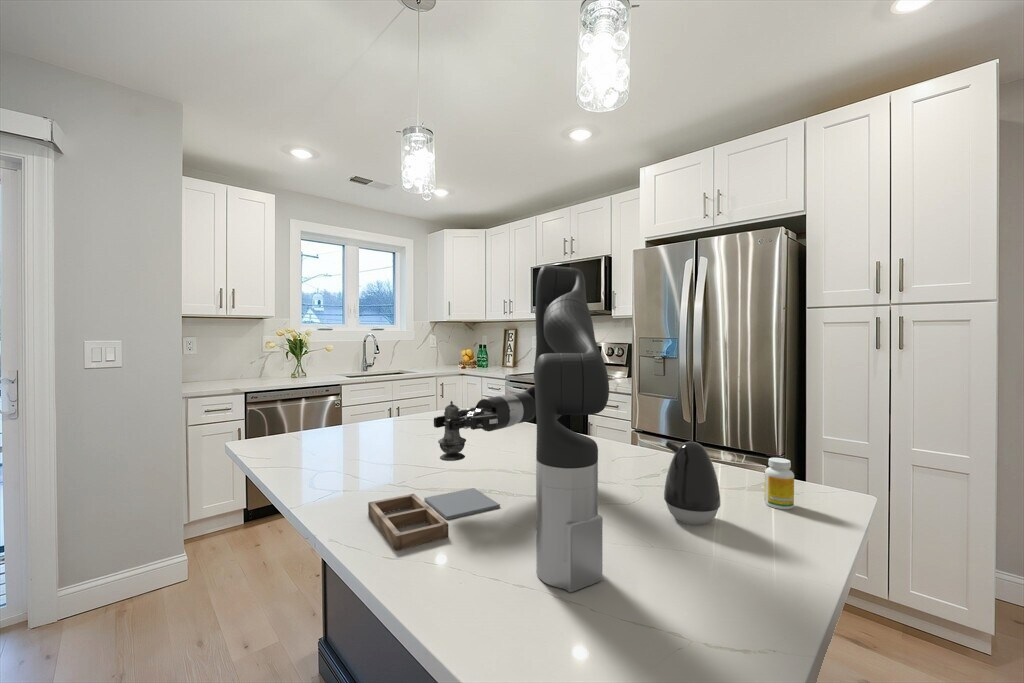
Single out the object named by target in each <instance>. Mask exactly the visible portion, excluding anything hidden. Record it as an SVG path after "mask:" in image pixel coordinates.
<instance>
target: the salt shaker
mask: <svg viewBox="0 0 1024 683" xmlns="http://www.w3.org/2000/svg"><path fill="white" fill-rule="evenodd" d="M458 408H459V406H457V405H456V404H454V402H453V401H452V400H451V401H450V404H449V405H447V406H445V407H444V412H445V422H443V424H445V426H444V436H443V437H442V438H440V439H438V441H437V443H438V444H439V447H440V451H442V452H443V454H441V455H440V456H439V459H440V460H442V461H446V462H456V461H461V460H464V459H465V458H466V455H465V454H463V453H462V451H463V450H464V448H465V444H466V442H467V439H466V438H465V437H462V436H461V433H460V429H456V430H451V431H449V430H447V420H448V419H453V418H458V417H459V409H458Z"/></svg>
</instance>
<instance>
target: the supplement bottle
mask: <svg viewBox="0 0 1024 683" xmlns="http://www.w3.org/2000/svg"><path fill="white" fill-rule="evenodd" d="M791 465H792V464H791V460H790V459H786V458H783V457H770V458H769V457H768V466H769V467H767V468H765V469H764V490H763V492H764V493H763V494H764V495H763V496H764V499H763V501H764V503H765V505H766V506H768V507H771V508H774V509H778V510H783V511H785V510H791V509H793V508H794V506H795V503H794V502H795V473H794V472H793V471H792V470H790V469H791V467H792V466H791Z"/></svg>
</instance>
